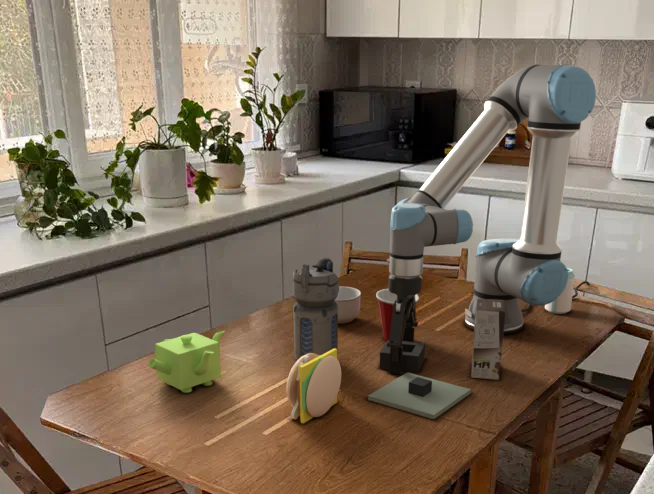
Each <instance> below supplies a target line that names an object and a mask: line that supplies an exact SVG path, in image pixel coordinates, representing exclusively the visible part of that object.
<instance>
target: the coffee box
mask: <svg viewBox="0 0 654 494" xmlns="http://www.w3.org/2000/svg"><path fill="white" fill-rule="evenodd" d="M505 313H506V308H505V300H494V299H487V300H485V299H477V306H476V316H475V329H474V330H473V344H472V359H471V374H470V377H471V378H472V379H484V380H495V381H498V380H499V379H500V371H501V361H502V353H503V345H504V344H503V343H504V335H505V334H504V323H505Z"/></svg>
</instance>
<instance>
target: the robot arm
mask: <svg viewBox="0 0 654 494" xmlns="http://www.w3.org/2000/svg"><path fill="white" fill-rule="evenodd" d="M596 101H597V91H596V85H595V82H594V79H593V77H591V75H590V73H589V72H588V71H587V70H585V69H584V68H583V67H580V66H575V65H569V64H529V65H527V66H524V67H522V68H520V69H518V70H516V71H515V72H513V73H512V74H511V75H510V76H509V77H508V78H506V79H505V80H503V82H502V83H501V84H500V85H499V86H498V87H497V88H496V89H495V90H494V91H493V92H492V94H491V95H490V96H489V97H488V98H487V100H486V101H485V102H484V103H483V109H484V110H483V111H482V112H481V114H480V115H479V116H478V117H477V119H476V120H475V121H474V122H473V124H472V125H470V127H469V128H468V129H467V131H466V132H465V133H464V135H462V137H461V138H460V139H459V140H458V141H457V142H456V144H455V145H454V147H453V148H452V149H451V150H450V151H449V152H448V153H447V155H446V156H445V157H444V159H443V160H442V161H441V163H440V164H439V165H438V166H437V167H436V169H435V170H434V171H433V172H432V173H431V175H430V176H429V177H428V178H427V179H426V181H425V182H424V183H423V184H422V186H420V188H419V189H418V190H417V191H416V193H415V194H414V195H413V196H412V197H407V198H403V199H401V200H400V201H398V202H397V204H395V205H394V206H393V207H392V208H391V212H390V222H389V258H387V259H386V263H388V264H389V265H388V268H389V269H388V272H389V275H388V284H387V285H388V287H387V289H388V290H389V291H390V292H391V293H393V294H396V295H397V300H395V301H394V303H393V313H392V321H391V329H390V337H389V343H387V342H386V343H387V347H390V369H389V374H394V375H403V374H402V373H403V371H402V357H403V346H402V341H408V342H415V328H418V327H419V322H417V302H415V294H417V295H419V293H421V292H422V288H423V287H422V286H423V276H422V274H423V272H424V251H425V247H426V248H427V247H436V246H446V245H457V244H461V243H465V242H467V241H468V240H470V238H471V237H472V235H473V231H474V222H473V217H472V215H471V214H470V212H469V211H468V210H467V209H464V208H463V209H462V208H460V209H459V208H458V209H457V208H453V209H445V208H446V207H447V205H448V204H449V203H450V202H451V201H452V199H453V198H455V196H456V195H457V194H458V193H459V191H460V190H461V189H462V188H463V186H464V185H465V184H466V182H467V181H468V180H469V179H470V178H471V177H472V176H473V174H474V173H475V172H476V171H477V169H478V168H479V167H480V166H481V165H482V163H483V162H484V161H485V160H486V159H487V157H488V156H489V155H490V153H492V151H493V150H494V149H495V148H496V146H498V144H499V143H500V142H501V141H502V139H503V138H504V137H505V136H506V134H507V133H508V132H510V131H511V132H512V131H515V130H517V128H518V127H519V125H520V124H521V123H523V122H524V121H526V120H527V130H528V131H529V133H531V135H532V140H531V141H532V142H531V148H530V149H531V150H530V157H529V165H528V172H527V173H528V174H527V181H526V188H525V196H524V204H523V210H522V211H523V212H522V220H521V228H520V235H519V238H507V237H506V238H505V237H504V238H490V239H484V240H482V241H481V242H479V243H478V244H477V249H476V253H475V269H474V270H475V271H474V284H473V296H472V299H471V301H470V304H469V306H468V308H465V309H464V310H465V311H464V314H465V317H464V325H465V327H466V328H468V329H470V330H472V331H474V329H475V316H476V306H477V299H485V300H487V299H494V300H505V308H506V313H505V323H504V334H503V335H506V334H514V333H516V332H519V331H521V330H522V329H523V328H524V315H523V313H524V312H527V311H529V309H530V306H531V305H535V306H545V305H546V304H549V303H551V302H553V301H554V300H556V298H557V297H558V296H560V295H561V293H562V292H563V290H564V289H565V287H566V284H567V281H568V270H567V268H568V267H566V265H565V264H564V262H562V261H561V257H562V251H563V248H562V247H561V246H560V245H559V244H558V241H557V240H558V233H559V226H560V220H561V213H562V206H563V199H564V192H565V185H566V179H567V172H568V165H569V159H570V152H571V144H572V139H573V137H574V136H575V135H576V134H578V133H579V132H580V130H581V124H582V122H583V121H585V120H586V119H587V118H588V117H589V116H590V115H589V114H591V113H592V111H593V110H594V107H595V105H596ZM585 284H586V285H587V286H591V284H590V282H589V281H588V280H583V281H582V282H580V283H579V284H577V286H576V287H575V288H573V292H574V293H575V294H573V295H572V299H575V298H576V297H577V296H578V295H579V293H578V289H579V288H581V287H582V286H583V285H585ZM520 300H521V301H523V302H524V303H526V304H527V305H526V307H525V308H522V309H521V304H520ZM405 326H406V327H405ZM394 341H396V342H394Z"/></svg>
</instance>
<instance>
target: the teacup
mask: <svg viewBox="0 0 654 494" xmlns="http://www.w3.org/2000/svg"><path fill="white" fill-rule="evenodd" d="M361 295H362V293H361V290H359V289H357V288H355V287H351V286H339V293H338V296H337V298H336V299H335V302H336V303H337V304H338V324H340V325H341V324H348V323H350V322H352V321H354V320H355V319H357V317H358V316H359V314H360V311H361Z"/></svg>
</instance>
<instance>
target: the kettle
mask: <svg viewBox="0 0 654 494" xmlns="http://www.w3.org/2000/svg"><path fill="white" fill-rule="evenodd" d="M225 332H226V331H225V330H219V331H217V332H215V334H213V337H212V339H211V338H210V337H207V336H204V335H202V334H199V333H197V332H191V333H188V334H183V335H180V336H178V337H174V338H166V339H163V340H162V341H160V342H157V343H155V344H154V353H155V358H154V357H153V358H151V359H150V360H149V361H148V367H149V368H151V369H153V370H155V371H156V375H157V380H159V381H162V382H163V383H166V384H167V385H168V386H171V387H173V388H176V389H177V390H179V391H181V392H182V393H185V394H186V393H187V394H189V393H191V392H193V387H196V386H198V385H199V386H200V385H202V386H206V387H207V386H211V385H213V382H212V381H213V380H216V379H219V378H222V367H221V353H220V342H219V341H220V339H221V336H223V335H224V333H225Z"/></svg>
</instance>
